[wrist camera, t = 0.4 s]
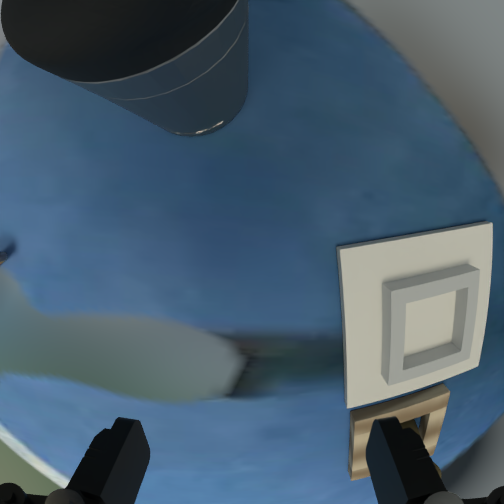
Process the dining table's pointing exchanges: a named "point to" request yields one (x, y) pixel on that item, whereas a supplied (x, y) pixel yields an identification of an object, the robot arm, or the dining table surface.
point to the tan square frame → (404, 408)
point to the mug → (3, 257)
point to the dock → (413, 309)
